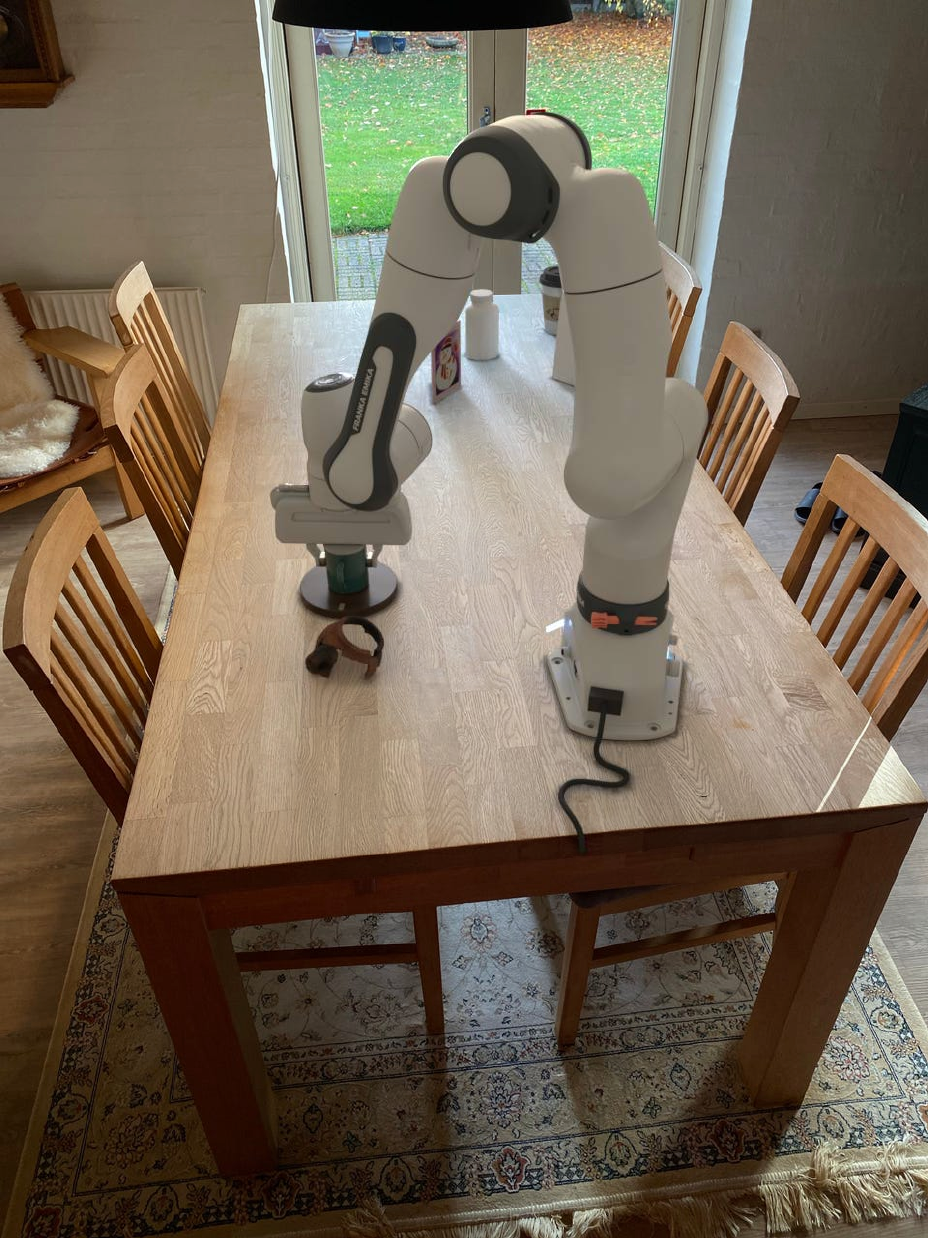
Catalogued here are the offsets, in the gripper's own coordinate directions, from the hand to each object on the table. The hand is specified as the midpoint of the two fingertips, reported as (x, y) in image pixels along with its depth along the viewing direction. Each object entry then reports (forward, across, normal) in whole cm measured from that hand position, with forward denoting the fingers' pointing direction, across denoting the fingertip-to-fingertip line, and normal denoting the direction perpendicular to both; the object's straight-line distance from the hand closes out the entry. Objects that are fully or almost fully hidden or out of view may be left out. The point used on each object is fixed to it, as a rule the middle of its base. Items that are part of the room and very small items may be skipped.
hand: (347, 565), depth 143 cm
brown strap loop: (+5, +2, -19) cm, 20 cm away
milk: (+5, +43, +87) cm, 97 cm away
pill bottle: (+5, +18, +100) cm, 102 cm away
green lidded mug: (+3, 0, -1) cm, 3 cm away
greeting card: (+5, +9, +78) cm, 78 cm away
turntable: (+5, 0, 0) cm, 5 cm away
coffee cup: (+5, +37, +118) cm, 124 cm away
